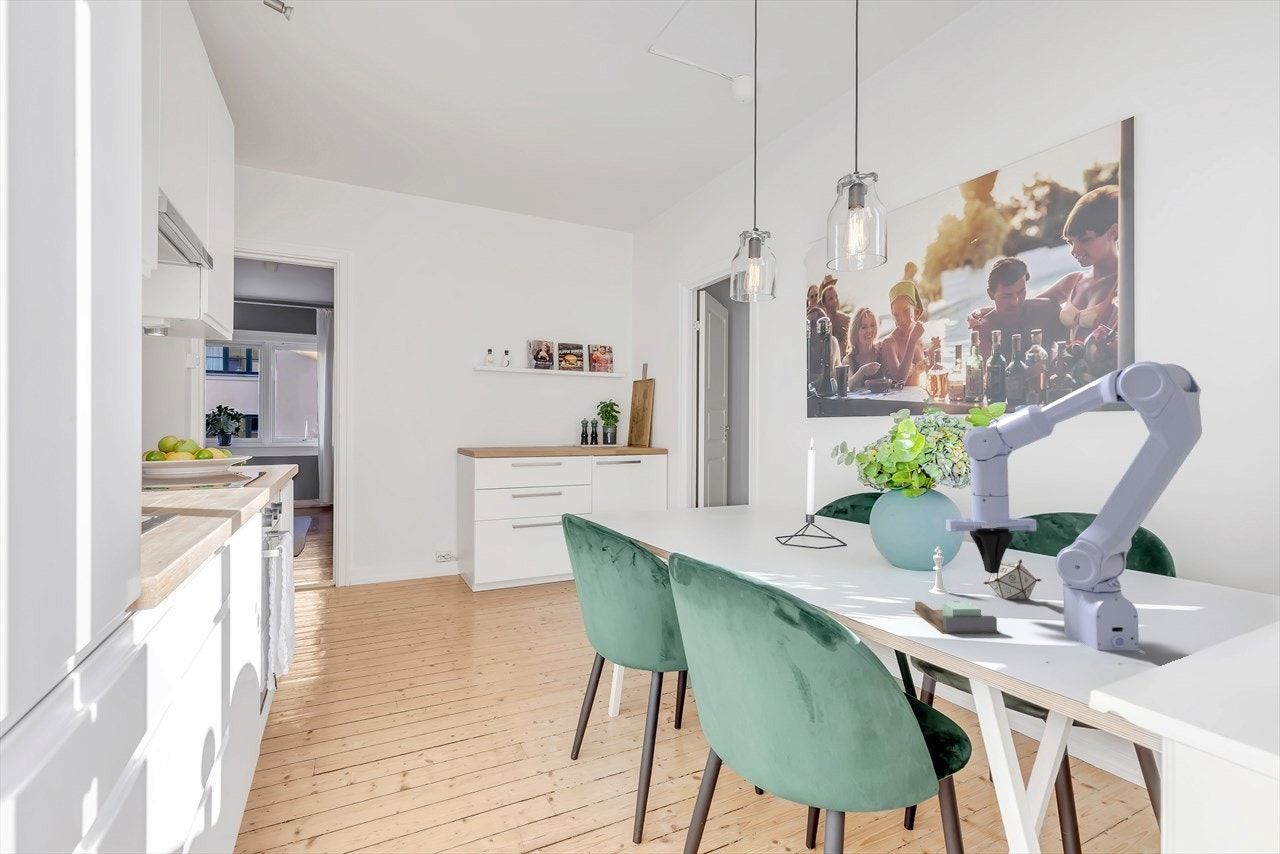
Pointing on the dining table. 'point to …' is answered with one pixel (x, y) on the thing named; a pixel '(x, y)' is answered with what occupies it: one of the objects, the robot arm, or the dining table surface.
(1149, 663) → the dining table surface
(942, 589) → the chess piece
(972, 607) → the block
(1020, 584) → the game die
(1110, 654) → the dining table surface
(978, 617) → the chute
